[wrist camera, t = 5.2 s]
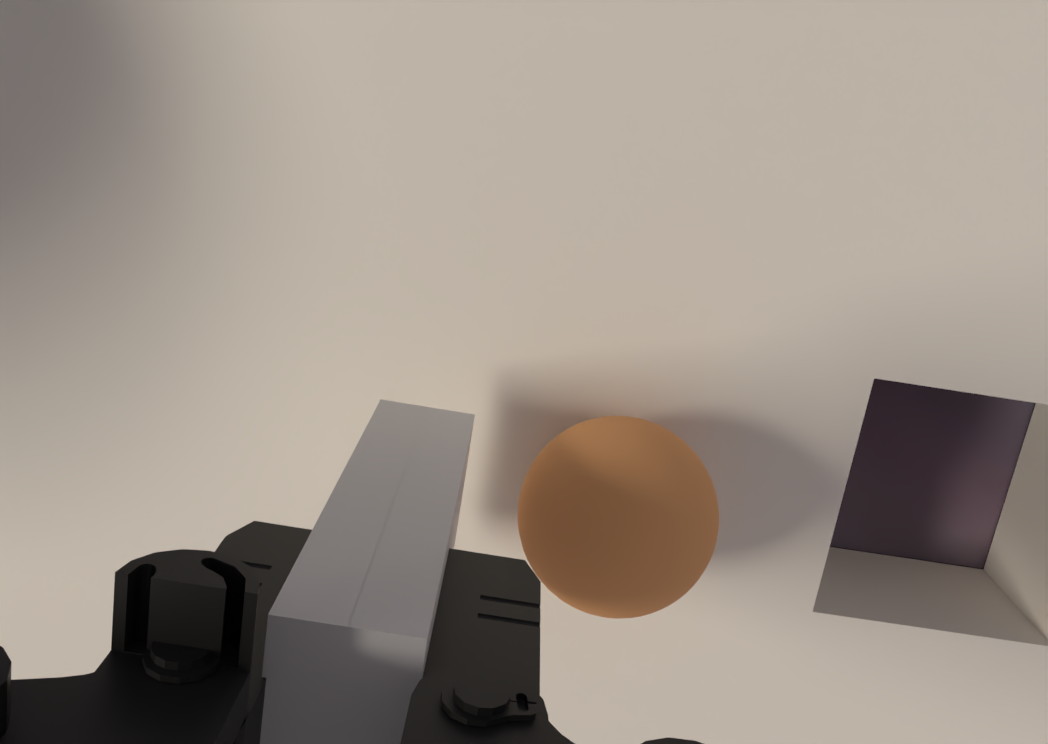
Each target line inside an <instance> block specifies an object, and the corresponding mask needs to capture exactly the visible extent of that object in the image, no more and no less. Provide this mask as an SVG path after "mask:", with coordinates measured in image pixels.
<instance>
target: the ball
mask: <svg viewBox="0 0 1048 744" xmlns="http://www.w3.org/2000/svg"><path fill="white" fill-rule="evenodd" d="M718 529H719V508H718V501H717V495H716V492H715V489H714V485H713V483H712V480H711V477H710V475H709V473H708V471H707V469H706V468H705V466H704V464H703V463H702V461H701V460H700V458H699V457H698V455H697V454H696V453H695V452H694V451H693V450H692V449H691V448H690V447H689V446H688V445H687V444H686V443H685V442H684V441H683V440H682V439H681V438H679V437H678V436H677V435H675V434H674V433H672V432H671V431H669V430H668V429H666V428H664V427H662V426H660V425H658V424H655V423H653V422H650V421H647V420H644V419H640V418H635V417H628V416H605V417H599V418H595V419H590V420H587V421H584V422H581V423H578V424H576V425H574V426H572V427H570V428H568V429H566V430H565V431H563V432H562V433H560V434H559V435H557V436H556V437H555V438H554V439H553V440H551V441H550V442H549V443H548V444H547V445H546V446H545V447H544V448H543V449H542V450H541V452H540V453H539V454H538V455H537V457H536V458H535V460H534V461H533V463H532V464H531V466H530V468H529V470H528V472H527V474H526V476H525V479H524V482H523V485H522V488H521V491H520V496H519V501H518V531H519V535H520V539H521V543H522V547H523V550H524V553H525V555H526V558H527V560H528V562H529V564H530V566H531V567H532V569H533V571H534V572H535V574H536V575H537V577H538V578H539V579H540V580H541V582H542V583H543V584H544V585H545V586H546V587H547V588H548V590H550V591H551V592H552V593H553V594H554V595H556V596H557V597H558V598H559V599H561V600H562V601H563V602H565V603H567V604H568V605H570V606H572V607H574V608H576V609H578V610H580V611H583V612H585V613H588V614H591V615H596V616H600V617H604V618H614V619H620V618H635V617H641V616H645V615H648V614H652V613H654V612H656V611H659V610H661V609H663V608H665V607H667V606H669V605H671V604H672V603H674V602H675V601H677V600H678V599H680V598H681V597H682V596H683V595H685V594H686V593H687V592H688V591H689V590H690V589H691V588H692V587H693V586H694V585H695V583H696V582H697V581H698V580H699V578H700V577H701V575H702V574H703V572H704V571H705V569H706V568H707V566H708V564H709V562H710V560H711V557H712V555H713V552H714V549H715V545H716V541H717V536H718Z"/></svg>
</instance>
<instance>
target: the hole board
mask: <svg viewBox="0 0 1048 744" xmlns="http://www.w3.org/2000/svg"><path fill="white" fill-rule="evenodd" d="M874 378H875V379H882V380H888V381H895V382H902V383H908V384H915V385H921V386H928V387H934V388H941V389H947V390H954V391H961V392H967V393H974V394H980V395H987V396H993V397H1000V398H1007V399H1013V400H1020V401H1026V402H1033V403H1036V404H1035V407H1034V411H1033V414H1032V417H1031V420H1030V423H1029V426H1028V430H1027V433H1026V436H1025V439H1024V442H1023V445H1022V449H1021V452H1020V455H1019V458H1018V461H1017V464H1016V468H1015V471H1014V474H1013V477H1012V480H1011V484H1010V487H1009V490H1008V493H1007V496H1006V499H1005V503H1004V506H1003V509H1002V512H1001V515H1000V518H999V522H998V525H997V528H996V531H995V534H994V537H993V541H992V544H991V547H990V550H989V553H988V556H987V560H986V563H985V566H984V569H976V568H970V567H963V566H956V565H949V564H943V563H936V562H929V561H922V560H916V559H909V558H902V557H895V556H888V555H882V554H875V553H868V552H861V551H855V550H848V549H841V548H834V547H830V544H831V540H832V536H833V532H834V529H835V525H836V521H837V517H838V513H839V510H840V506H841V502H842V498H843V495H844V491H845V487H846V483H847V479H848V476H849V472H850V468H851V464H852V460H853V457H854V453H855V449H856V445H857V442H858V438H859V434H860V430H861V426H862V423H863V419H864V415H865V411H866V408H867V404H868V400H869V396H870V392H871V389H872V385H873V381H874ZM380 400H388V401H394V402H400V403H406V404H413V405H419V406H425V407H431V408H438V409H444V410H450V411H456V412H463V413H469V414H475V418H474V424H473V430H472V437H471V443H470V450H469V456H468V462H467V469H466V475H465V482H464V488H463V494H462V501H461V507H460V514H459V520H458V526H457V533H456V539H455V546H454V549H457V550H464V551H470V552H476V553H483V554H489V555H496V556H502V557H509V558H515V559H521V560H525V561H526V562H527V564H528V565H529V566H530V564H529V562H528V560H527V558H526V555H525V553H524V550H523V547H522V543H521V539H520V535H519V531H518V501H519V496H520V491H521V488H522V485H523V482H524V479H525V476H526V474H527V472H528V470H529V468H530V466H531V464H532V463H533V461H534V460H535V458H536V457H537V455H538V454H539V453H540V452H541V450H542V449H543V448H544V447H545V446H546V445H547V444H548V443H549V442H550V441H551V440H553V439H554V438H555V437H556V436H557V435H559V434H560V433H562V432H563V431H565V430H566V429H568V428H570V427H572V426H574V425H576V424H578V423H581V422H584V421H587V420H590V419H595V418H599V417H605V416H628V417H635V418H640V419H644V420H647V421H650V422H653V423H655V424H658V425H660V426H662V427H664V428H666V429H668V430H669V431H671V432H672V433H674V434H675V435H677V436H678V437H679V438H681V439H682V440H683V441H684V442H685V443H686V444H687V445H688V446H689V447H690V448H691V449H692V450H693V451H694V452H695V453H696V454H697V455H698V457H699V458H700V460H701V461H702V463H703V464H704V466H705V468H706V469H707V471H708V473H709V475H710V477H711V480H712V483H713V485H714V489H715V492H716V495H717V501H718V508H719V529H718V536H717V541H716V545H715V549H714V552H713V555H712V557H711V560H710V562H709V564H708V566H707V568H706V569H705V571H704V572H703V574H702V575H701V577H700V578H699V580H698V581H697V582H696V583H695V585H694V586H693V587H692V588H691V589H690V590H689V591H688V592H687V593H686V594H685V595H683V596H682V597H681V598H680V599H678V600H677V601H675V602H674V603H672V604H671V605H669V606H667V607H665V608H663V609H661V610H659V611H656V612H654V613H652V614H648V615H645V616H641V617H635V618H620V619H614V618H604V617H600V616H596V615H591V614H588V613H585V612H583V611H580V610H578V609H576V608H574V607H572V606H570V605H568V604H567V603H565V602H563V601H562V600H561V599H559V598H558V597H557V596H556V595H554V594H553V593H552V592H551V591H550V590H548V588H547V587H546V586H545V585H544V584H543V583H542V582H541V580H540V579H539V578H538V579H539V580H540V582H541V603H540V696H541V697H542V698H543V700H544V703H545V707H546V710H547V713H548V720H549V722H550V723H551V724H552V725H553V726H554V727H555V728H556V729H557V730H558V731H559V732H560V733H561V734H562V735H563V736H565V737H566V738H568V739H569V740H570V741H572V742H573V743H575V744H641V743H643V742H645V741H648V740H655V739H661V738H668V737H670V738H678V739H686V740H694V741H697V742H700V743H703V744H1048V0H0V646H1V647H3V648H4V650H5V651H6V653H7V655H8V657H9V658H10V660H11V680H16V679H36V678H57V677H68V676H76V675H85V674H89V673H93V672H95V671H96V669H97V668H98V667H99V665H100V664H101V663H102V661H103V660H104V659H105V658H106V656H107V655H108V654H109V652H110V651H111V641H112V621H113V602H114V582H115V572H116V571H117V570H119V569H120V568H122V567H123V566H124V565H126V564H127V563H128V562H130V561H131V560H134V559H137V558H140V557H143V556H146V555H149V554H152V553H155V552H163V551H171V550H179V549H189V550H205V551H213V552H215V551H216V549H217V548H218V546H219V545H220V543H221V542H222V541H223V539H224V538H225V536H227V535H228V534H230V533H232V532H234V531H236V530H238V529H240V528H242V527H244V526H245V525H247V524H249V523H251V522H253V521H259V522H265V523H272V524H278V525H285V526H291V527H298V528H304V529H310V530H312V529H313V528H314V526H315V524H316V522H317V520H318V518H319V516H320V514H321V512H322V510H323V508H324V507H325V505H326V503H327V501H328V499H329V497H330V495H331V493H332V491H333V489H334V487H335V486H336V484H337V482H338V480H339V478H340V476H341V474H342V472H343V470H344V468H345V466H346V465H347V463H348V461H349V459H350V457H351V455H352V453H353V451H354V449H355V447H356V445H357V444H358V442H359V440H360V438H361V436H362V434H363V432H364V430H365V428H366V426H367V424H368V422H369V421H370V419H371V417H372V415H373V413H374V411H375V409H376V407H377V405H378V403H379V401H380ZM530 568H531V569H532V567H531V566H530ZM532 570H533V569H532ZM533 572H534V571H533ZM534 573H535V572H534ZM535 575H536V574H535ZM536 576H537V575H536Z"/></svg>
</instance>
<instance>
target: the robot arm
mask: <svg viewBox="0 0 1048 744" xmlns="http://www.w3.org/2000/svg"><path fill="white" fill-rule="evenodd" d="M474 418H475V414H469V413H463V412H456V411H450V410H444V409H438V408H431V407H425V406H419V405H413V404H406V403H400V402H394V401H388V400H380V401H379V403H378V405H377V407H376V409H375V411H374V413H373V415H372V417H371V419H370V421H369V422H368V424H367V426H366V428H365V430H364V432H363V434H362V436H361V438H360V440H359V442H358V444H357V445H356V447H355V449H354V451H353V453H352V455H351V457H350V459H349V461H348V463H347V465H346V466H345V468H344V470H343V472H342V474H341V476H340V478H339V480H338V482H337V484H336V486H335V487H334V489H333V491H332V493H331V495H330V497H329V499H328V501H327V503H326V505H325V507H324V508H323V510H322V512H321V514H320V516H319V518H318V520H317V522H316V524H315V526H314V528H313V529H312V530H310V529H304V528H298V527H291V526H285V525H278V524H272V523H265V522H259V521H253V522H251V523H249V524H247V525H245V526H244V527H242V528H240V529H238V530H236V531H234V532H232V533H230V534H228V535H227V536H225V538H224V539H223V541H222V542H221V543H220V545H219V546H218V548H217V549H216V551H215V552H213V551H205V550H189V549H179V550H171V551H163V552H155V553H152V554H149V555H146V556H143V557H140V558H137V559H134V560H131V561H130V562H128V563H127V564H126V565H124V566H123V567H122V568H120V569H119V570H117V571H116V572H115V582H114V602H113V621H112V641H111V651H110V652H109V654H108V655H107V656H106V658H105V659H104V660H103V661H102V663H101V664H100V665H99V667H98V668H97V669H96V671H95V672H93V673H89V674H85V675H76V676H68V677H57V678H36V679H16V680H11V660H10V658H9V657H8V655H7V653H6V651H5V650H4V648H3V647H1V646H0V744H575V743H573V742H572V741H570V740H569V739H568V738H566V737H565V736H563V735H562V734H561V733H560V732H559V731H558V730H557V729H556V728H555V727H554V726H553V725H552V724H551V723H550V722H549V720H548V713H547V710H546V707H545V703H544V700H543V698H542V697H541V696H540V603H541V582H540V580H539V579H538V577H537V576H536V575H535V573H534V572H533V570H532V569H531V568H530V566H529V565H528V564H527V562H526V561H525V560H521V559H515V558H509V557H502V556H496V555H489V554H483V553H476V552H470V551H464V550H457V549H454V546H455V539H456V533H457V526H458V520H459V514H460V507H461V501H462V494H463V488H464V482H465V475H466V469H467V462H468V456H469V450H470V443H471V437H472V430H473V424H474ZM641 744H703V743H700V742H697V741H694V740H686V739H678V738H670V737H668V738H661V739H655V740H648V741H645V742H643V743H641Z"/></svg>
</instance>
